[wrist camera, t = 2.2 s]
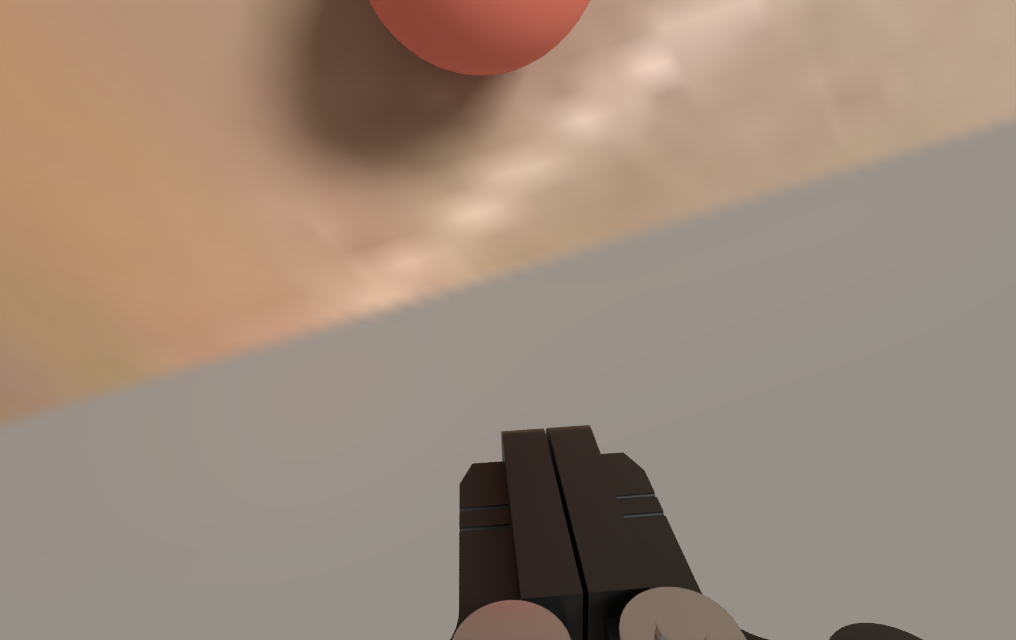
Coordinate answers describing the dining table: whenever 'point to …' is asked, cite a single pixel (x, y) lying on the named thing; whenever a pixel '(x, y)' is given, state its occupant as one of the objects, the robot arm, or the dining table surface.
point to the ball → (479, 30)
